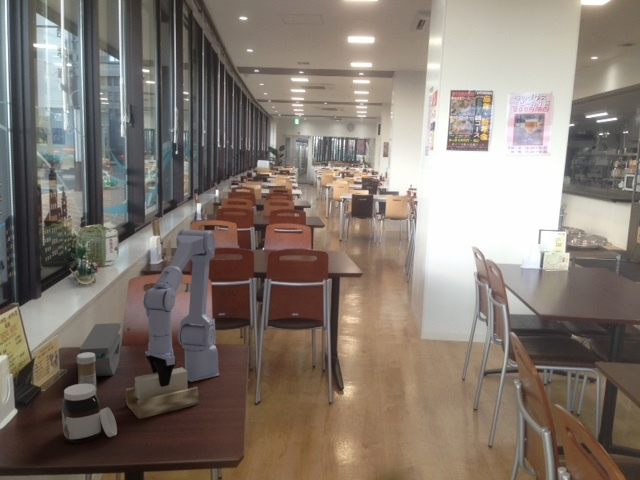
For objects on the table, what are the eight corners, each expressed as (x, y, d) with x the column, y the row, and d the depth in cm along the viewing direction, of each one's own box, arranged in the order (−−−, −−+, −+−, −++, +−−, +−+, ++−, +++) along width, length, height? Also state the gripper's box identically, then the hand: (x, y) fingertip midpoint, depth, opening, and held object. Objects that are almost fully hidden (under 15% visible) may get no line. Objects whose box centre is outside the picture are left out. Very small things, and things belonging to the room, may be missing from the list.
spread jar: (59, 432, 140) (56, 386, 139) (107, 419, 147) (105, 375, 145) (73, 452, 131) (70, 403, 129) (123, 438, 138) (121, 391, 136)
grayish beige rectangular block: (182, 384, 161) (182, 367, 160) (187, 389, 158) (187, 371, 157) (135, 395, 153) (134, 377, 152) (139, 400, 150) (139, 381, 150)
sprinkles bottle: (82, 399, 159) (79, 351, 157) (99, 399, 159) (97, 351, 157) (76, 406, 154) (74, 357, 152) (94, 406, 155) (92, 357, 153)
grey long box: (109, 384, 169) (108, 347, 168) (81, 385, 168) (79, 349, 166) (121, 354, 194) (120, 323, 192) (96, 356, 192) (95, 324, 191)
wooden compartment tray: (183, 391, 165) (183, 376, 164) (198, 404, 157) (198, 388, 156) (126, 405, 155) (125, 388, 155) (138, 419, 147) (138, 402, 147)
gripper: (136, 329, 157) (137, 377, 159) (155, 343, 145) (156, 395, 147) (161, 324, 161) (163, 372, 163) (182, 338, 149) (183, 389, 151)
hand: (161, 383), depth 155 cm, fingers closed on grayish beige rectangular block, 3 cm apart
